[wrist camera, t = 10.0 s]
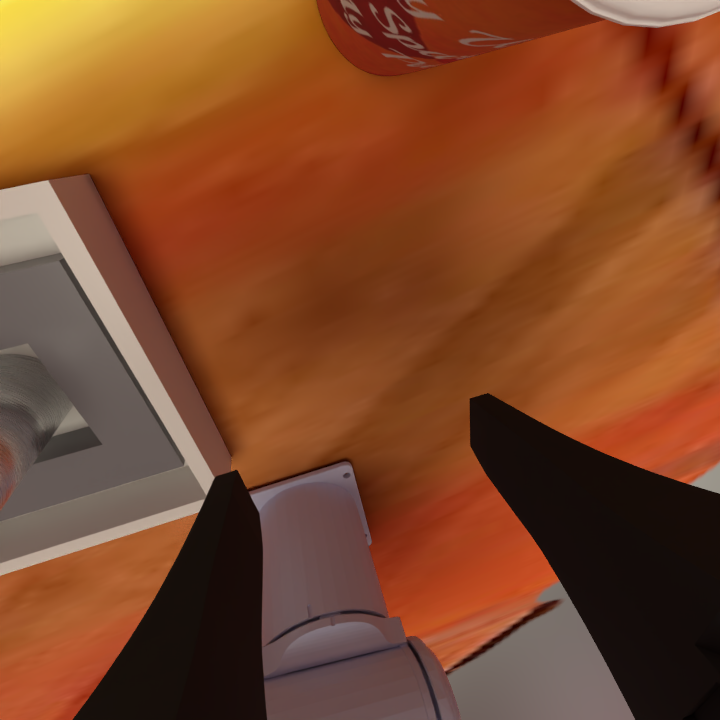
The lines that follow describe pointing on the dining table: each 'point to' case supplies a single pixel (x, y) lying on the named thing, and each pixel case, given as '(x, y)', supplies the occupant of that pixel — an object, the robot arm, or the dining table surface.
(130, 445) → the box
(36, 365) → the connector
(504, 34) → the paper cup
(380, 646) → the robot arm
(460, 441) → the dining table surface
